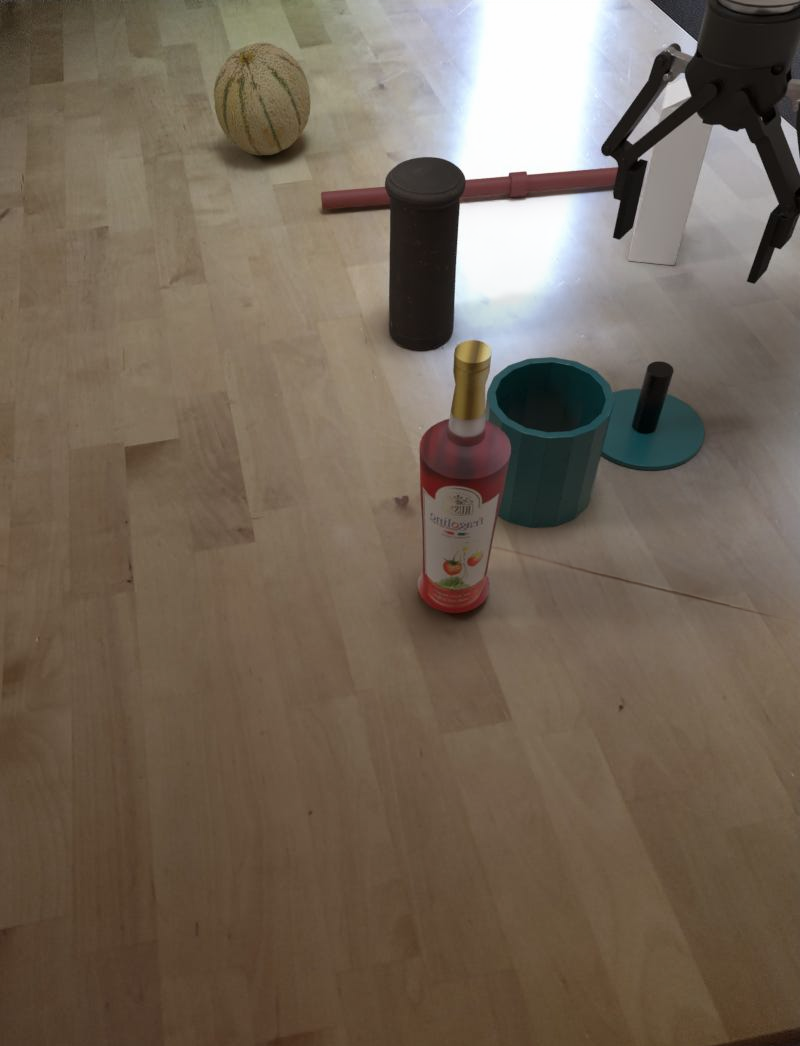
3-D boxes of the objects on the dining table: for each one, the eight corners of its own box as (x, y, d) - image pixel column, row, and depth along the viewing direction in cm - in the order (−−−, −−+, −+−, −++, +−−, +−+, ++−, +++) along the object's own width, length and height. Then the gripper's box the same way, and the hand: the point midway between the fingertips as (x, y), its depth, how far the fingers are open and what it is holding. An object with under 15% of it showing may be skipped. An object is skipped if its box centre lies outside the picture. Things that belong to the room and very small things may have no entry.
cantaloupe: (321, 127, 145) (314, 22, 133) (304, 174, 137) (296, 66, 125) (233, 126, 148) (218, 23, 135) (211, 172, 139) (194, 66, 127)
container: (445, 304, 115) (453, 144, 99) (464, 346, 110) (476, 184, 93) (379, 315, 114) (377, 156, 98) (395, 358, 109) (395, 197, 93)
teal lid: (709, 409, 100) (733, 343, 93) (692, 485, 93) (716, 420, 86) (595, 388, 103) (610, 322, 96) (571, 460, 97) (585, 395, 90)
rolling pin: (631, 179, 129) (636, 157, 127) (636, 190, 128) (641, 168, 125) (321, 205, 131) (320, 184, 129) (322, 216, 129) (321, 195, 127)
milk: (627, 261, 118) (666, 79, 100) (632, 236, 121) (671, 56, 103) (675, 266, 116) (724, 82, 98) (679, 240, 120) (727, 58, 102)
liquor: (494, 569, 89) (529, 325, 66) (486, 627, 85) (519, 388, 62) (421, 560, 90) (430, 317, 67) (409, 617, 86) (414, 379, 63)
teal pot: (600, 465, 96) (624, 369, 86) (576, 542, 90) (599, 448, 80) (495, 443, 99) (506, 348, 89) (465, 516, 93) (473, 422, 83)
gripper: (590, -17, 72) (552, 233, 89) (914, 47, 62) (801, 316, 79) (635, -48, 75) (590, 199, 92) (950, 8, 65) (834, 275, 82)
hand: (687, 253), depth 86 cm, fingers open, 13 cm apart
